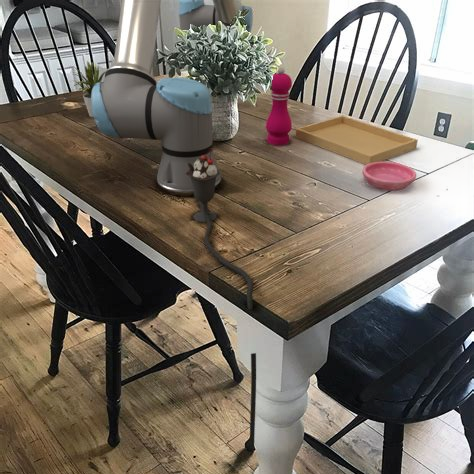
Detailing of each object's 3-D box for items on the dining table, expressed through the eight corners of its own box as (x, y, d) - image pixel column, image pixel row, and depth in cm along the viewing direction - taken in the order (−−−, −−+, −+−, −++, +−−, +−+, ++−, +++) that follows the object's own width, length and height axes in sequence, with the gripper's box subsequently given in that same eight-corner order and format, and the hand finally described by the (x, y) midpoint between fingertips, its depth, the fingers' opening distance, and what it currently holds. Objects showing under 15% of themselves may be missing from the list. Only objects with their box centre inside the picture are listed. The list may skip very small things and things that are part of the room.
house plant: (68, 110, 179) (59, 57, 169) (110, 105, 184) (103, 53, 174) (77, 123, 168) (68, 67, 159) (121, 117, 173) (115, 62, 164)
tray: (416, 148, 150) (418, 139, 149) (369, 165, 140) (370, 156, 139) (341, 123, 168) (342, 115, 166) (294, 137, 158) (295, 128, 156)
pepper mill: (283, 148, 151) (287, 71, 139) (260, 143, 154) (262, 68, 142) (295, 140, 156) (299, 66, 144) (273, 135, 159) (275, 62, 147)
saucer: (401, 171, 137) (403, 159, 135) (423, 192, 127) (425, 179, 125) (353, 174, 135) (355, 162, 133) (372, 196, 125) (374, 183, 123)
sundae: (227, 216, 117) (226, 148, 108) (204, 227, 113) (201, 157, 104) (205, 207, 121) (203, 140, 112) (183, 217, 117) (178, 149, 108)
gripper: (243, 66, 173) (289, 79, 160) (177, 79, 161) (221, 95, 147) (243, 40, 169) (290, 52, 156) (176, 51, 156) (220, 65, 143)
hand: (257, 73), depth 151 cm, fingers open, 13 cm apart
